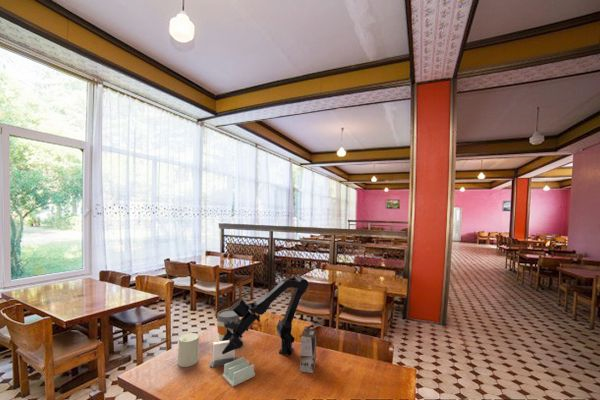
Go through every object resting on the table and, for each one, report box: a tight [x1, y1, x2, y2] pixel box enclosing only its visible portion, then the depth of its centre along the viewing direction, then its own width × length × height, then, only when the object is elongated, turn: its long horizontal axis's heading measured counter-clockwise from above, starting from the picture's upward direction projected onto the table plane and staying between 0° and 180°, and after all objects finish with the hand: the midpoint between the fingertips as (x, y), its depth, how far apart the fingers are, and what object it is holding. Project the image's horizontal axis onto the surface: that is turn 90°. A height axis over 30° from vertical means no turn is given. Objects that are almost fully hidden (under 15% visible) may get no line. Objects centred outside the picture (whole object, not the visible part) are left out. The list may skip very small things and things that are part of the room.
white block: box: [212, 340, 236, 365], centre depth 126 cm, size 10×2×10 cm, turn 112°
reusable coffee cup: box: [216, 308, 241, 342], centre depth 149 cm, size 13×13×15 cm
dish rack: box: [222, 356, 256, 387], centre depth 117 cm, size 11×9×5 cm
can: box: [176, 332, 200, 368], centre depth 127 cm, size 9×9×12 cm
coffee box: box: [299, 328, 317, 374], centre depth 125 cm, size 9×6×16 cm
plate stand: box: [208, 355, 238, 369], centre depth 126 cm, size 13×4×2 cm, turn 112°
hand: (221, 348), depth 126 cm, fingers open, 9 cm apart
